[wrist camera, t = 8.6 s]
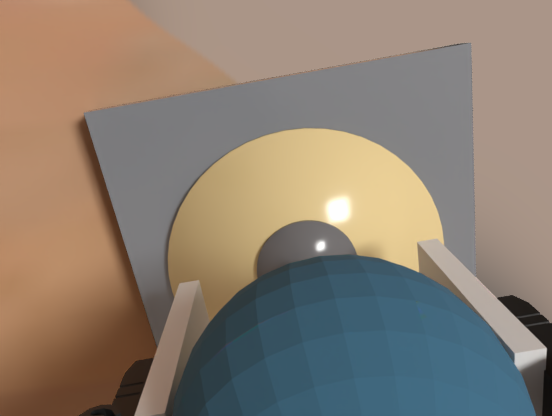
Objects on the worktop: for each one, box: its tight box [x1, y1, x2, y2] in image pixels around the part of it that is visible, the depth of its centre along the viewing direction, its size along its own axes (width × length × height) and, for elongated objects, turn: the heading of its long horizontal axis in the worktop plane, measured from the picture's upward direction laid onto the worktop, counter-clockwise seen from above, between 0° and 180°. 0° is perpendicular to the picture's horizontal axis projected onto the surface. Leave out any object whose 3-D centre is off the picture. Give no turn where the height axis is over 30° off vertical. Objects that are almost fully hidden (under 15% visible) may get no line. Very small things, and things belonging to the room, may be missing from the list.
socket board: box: [84, 43, 476, 348], centre depth 19 cm, size 16×15×2 cm
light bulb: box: [172, 254, 536, 416], centre depth 12 cm, size 8×8×12 cm
